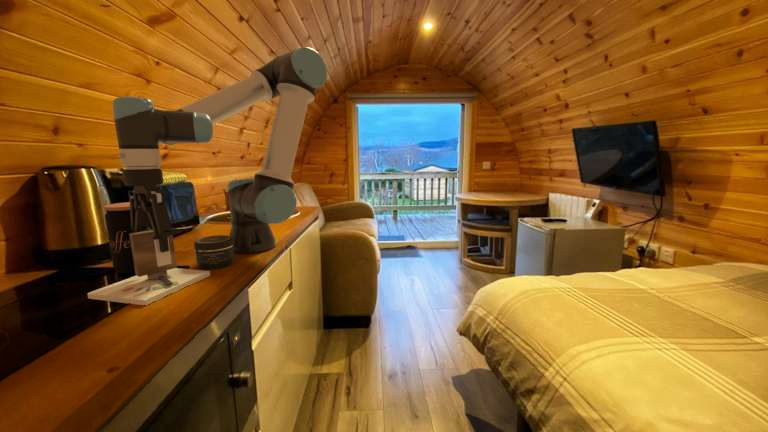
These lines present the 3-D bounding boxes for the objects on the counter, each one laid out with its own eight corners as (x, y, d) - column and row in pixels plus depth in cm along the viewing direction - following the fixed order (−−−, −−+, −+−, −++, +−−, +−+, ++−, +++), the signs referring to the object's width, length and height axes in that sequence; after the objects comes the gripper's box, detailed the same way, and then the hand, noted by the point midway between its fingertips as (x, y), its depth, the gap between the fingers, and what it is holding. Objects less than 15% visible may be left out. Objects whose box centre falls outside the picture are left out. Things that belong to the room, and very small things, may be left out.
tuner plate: (160, 270, 90) (160, 266, 90) (210, 275, 86) (209, 270, 86) (88, 298, 73) (87, 292, 73) (146, 305, 69) (145, 299, 69)
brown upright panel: (135, 279, 80) (128, 233, 78) (172, 270, 86) (167, 227, 84) (150, 291, 73) (143, 240, 71) (189, 280, 79) (184, 233, 77)
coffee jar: (104, 272, 90) (92, 206, 87) (142, 260, 100) (133, 200, 97) (133, 275, 87) (122, 207, 83) (169, 263, 97) (161, 202, 94)
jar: (237, 266, 93) (234, 240, 92) (196, 273, 88) (193, 245, 87) (233, 257, 102) (231, 233, 100) (196, 262, 97) (193, 237, 96)
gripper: (105, 168, 80) (119, 257, 84) (143, 169, 68) (158, 274, 72) (141, 167, 86) (153, 250, 90) (182, 168, 74) (194, 264, 78)
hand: (155, 261), depth 81 cm, fingers open, 9 cm apart
